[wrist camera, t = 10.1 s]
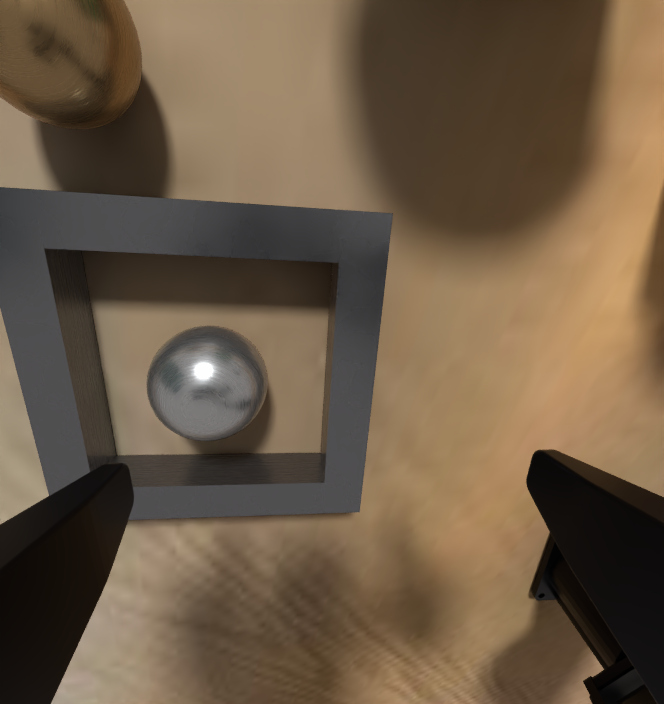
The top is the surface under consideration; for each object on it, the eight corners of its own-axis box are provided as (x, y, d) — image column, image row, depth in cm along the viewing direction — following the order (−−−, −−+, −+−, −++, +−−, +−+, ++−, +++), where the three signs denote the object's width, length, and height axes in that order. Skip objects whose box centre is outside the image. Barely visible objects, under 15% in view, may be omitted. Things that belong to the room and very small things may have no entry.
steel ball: (268, 404, 20) (267, 463, 15) (169, 406, 19) (137, 469, 14) (268, 313, 18) (267, 349, 13) (159, 311, 17) (118, 348, 13)
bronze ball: (167, 146, 15) (113, 117, 10) (34, 135, 14) (-88, 99, 10) (154, -11, 13) (82, -130, 9) (2, -31, 13) (-165, -170, 8)
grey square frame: (352, 480, 22) (359, 512, 20) (83, 486, 20) (56, 522, 18) (378, 213, 17) (392, 213, 14) (18, 189, 15) (-32, 185, 13)
